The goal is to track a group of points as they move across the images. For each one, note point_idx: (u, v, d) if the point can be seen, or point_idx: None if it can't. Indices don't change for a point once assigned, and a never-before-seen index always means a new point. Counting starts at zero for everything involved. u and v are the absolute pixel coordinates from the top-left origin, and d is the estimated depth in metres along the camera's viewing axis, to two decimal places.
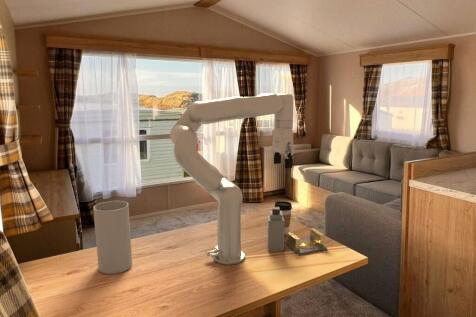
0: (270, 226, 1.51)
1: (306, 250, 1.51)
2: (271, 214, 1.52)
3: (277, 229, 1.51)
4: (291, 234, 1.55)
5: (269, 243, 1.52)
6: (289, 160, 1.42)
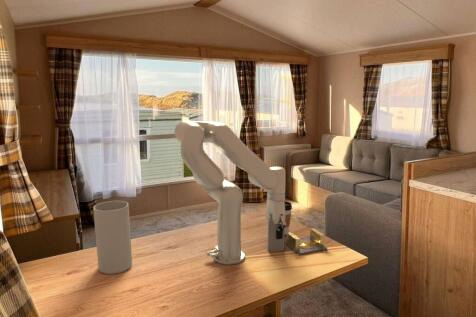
0: (270, 226, 1.51)
1: (306, 250, 1.51)
2: None
3: None
4: (291, 234, 1.55)
5: (269, 243, 1.52)
6: (280, 232, 1.50)
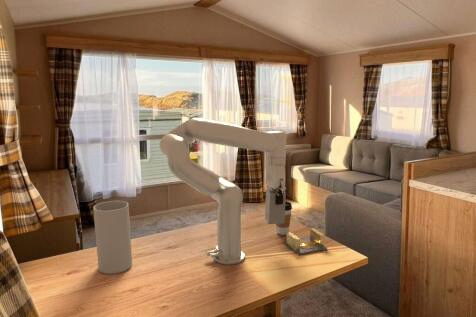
0: (271, 198, 1.48)
1: (306, 250, 1.51)
2: None
3: None
4: (291, 234, 1.55)
5: (270, 216, 1.50)
6: (279, 197, 1.47)
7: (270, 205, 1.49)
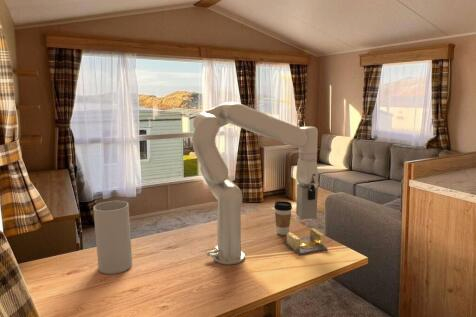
0: (303, 194, 1.49)
1: (306, 250, 1.51)
2: None
3: None
4: (291, 234, 1.55)
5: (302, 211, 1.50)
6: (312, 193, 1.48)
7: (302, 200, 1.49)
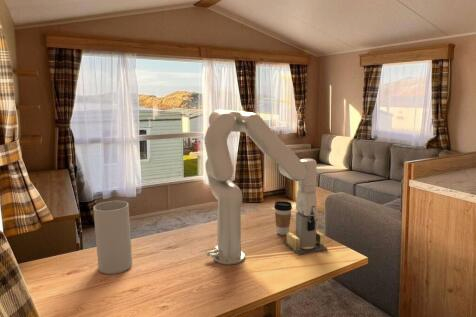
0: (302, 222, 1.51)
1: (306, 250, 1.51)
2: None
3: None
4: (291, 234, 1.55)
5: (302, 239, 1.53)
6: (311, 224, 1.50)
7: (301, 229, 1.52)
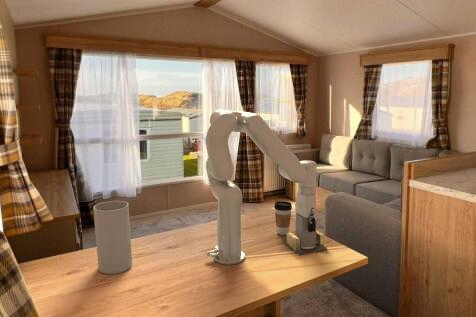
0: (303, 222, 1.51)
1: (306, 250, 1.51)
2: None
3: None
4: (291, 234, 1.55)
5: (302, 240, 1.52)
6: (312, 225, 1.49)
7: (302, 229, 1.51)
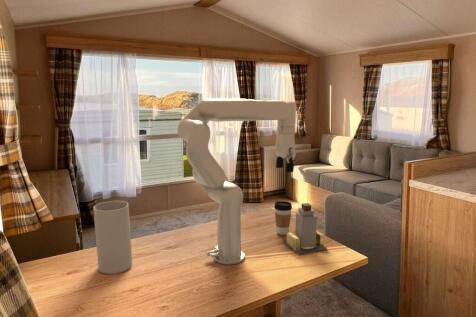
0: (303, 222, 1.51)
1: (306, 250, 1.51)
2: (303, 211, 1.52)
3: (309, 225, 1.52)
4: (291, 234, 1.55)
5: (302, 240, 1.52)
6: (290, 165, 1.49)
7: (302, 229, 1.51)
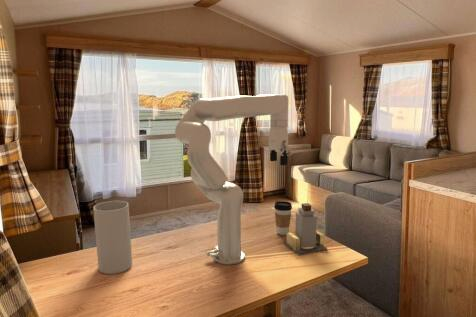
0: (303, 222, 1.51)
1: (306, 250, 1.51)
2: (303, 211, 1.52)
3: (310, 225, 1.52)
4: (291, 234, 1.55)
5: (302, 240, 1.52)
6: (284, 158, 1.50)
7: (302, 229, 1.51)
